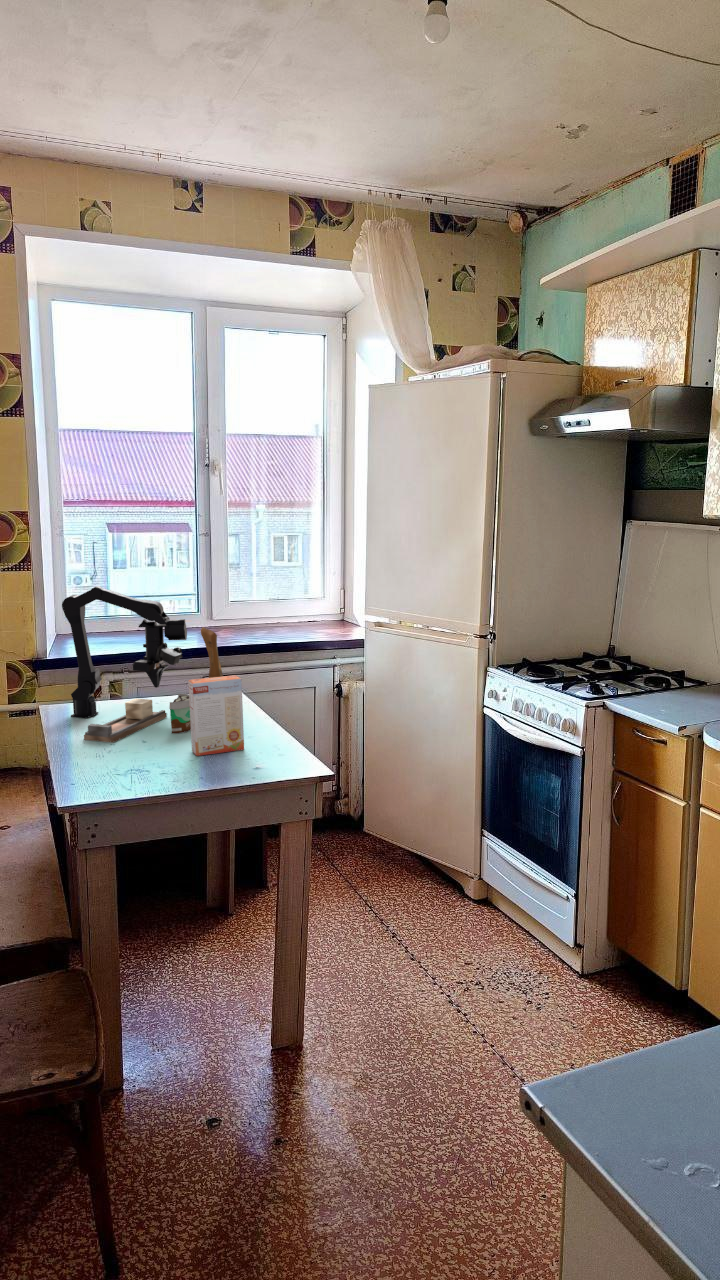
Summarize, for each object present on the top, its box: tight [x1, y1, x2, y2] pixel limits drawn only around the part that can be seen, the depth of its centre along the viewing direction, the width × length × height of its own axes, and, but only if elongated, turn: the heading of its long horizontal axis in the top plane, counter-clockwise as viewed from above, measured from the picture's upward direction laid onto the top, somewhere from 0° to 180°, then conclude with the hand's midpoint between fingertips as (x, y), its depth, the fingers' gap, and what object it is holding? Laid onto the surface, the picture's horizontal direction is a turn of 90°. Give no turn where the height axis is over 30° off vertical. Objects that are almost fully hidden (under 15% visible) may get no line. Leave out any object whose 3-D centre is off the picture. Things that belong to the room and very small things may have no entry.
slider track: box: [83, 709, 168, 744], centre depth 267 cm, size 10×30×4 cm, turn 162°
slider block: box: [124, 697, 154, 720], centre depth 274 cm, size 6×6×5 cm
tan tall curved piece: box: [200, 626, 224, 678], centre depth 285 cm, size 7×19×28 cm, turn 16°
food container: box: [169, 693, 191, 735], centre depth 265 cm, size 12×6×10 cm, turn 179°
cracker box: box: [188, 674, 245, 757], centre depth 242 cm, size 14×6×21 cm, turn 114°
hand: (156, 687), depth 283 cm, fingers closed
